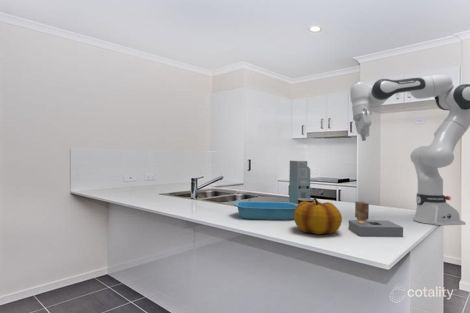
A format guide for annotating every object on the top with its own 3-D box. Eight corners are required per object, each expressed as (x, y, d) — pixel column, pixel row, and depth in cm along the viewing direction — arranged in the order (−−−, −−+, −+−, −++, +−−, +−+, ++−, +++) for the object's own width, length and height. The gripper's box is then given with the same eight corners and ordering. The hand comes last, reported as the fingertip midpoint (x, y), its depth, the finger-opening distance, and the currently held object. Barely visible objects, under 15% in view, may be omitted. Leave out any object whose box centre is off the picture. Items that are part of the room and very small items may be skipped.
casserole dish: (297, 213, 179) (297, 201, 179) (305, 222, 156) (305, 207, 156) (233, 212, 179) (233, 200, 179) (232, 220, 157) (232, 206, 157)
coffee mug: (310, 220, 159) (311, 201, 158) (294, 218, 163) (295, 199, 163) (317, 216, 168) (318, 198, 168) (302, 215, 173) (302, 197, 173)
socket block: (387, 229, 142) (387, 219, 142) (402, 236, 129) (403, 225, 129) (348, 228, 142) (348, 218, 142) (359, 236, 129) (359, 225, 129)
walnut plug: (363, 223, 153) (363, 201, 152) (368, 226, 147) (368, 203, 146) (355, 223, 153) (355, 201, 152) (359, 226, 147) (360, 203, 146)
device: (309, 213, 178) (310, 161, 178) (296, 213, 177) (297, 161, 177) (300, 208, 194) (301, 160, 194) (288, 208, 194) (289, 160, 193)
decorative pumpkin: (294, 236, 128) (294, 200, 127) (293, 224, 149) (293, 193, 149) (345, 239, 124) (345, 202, 124) (336, 226, 146) (337, 195, 146)
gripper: (372, 105, 150) (376, 132, 147) (364, 117, 169) (368, 142, 167) (358, 106, 151) (362, 134, 148) (352, 119, 171) (356, 143, 168)
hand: (365, 138), depth 158 cm, fingers open, 8 cm apart
